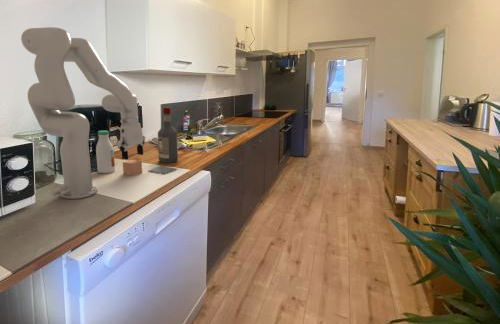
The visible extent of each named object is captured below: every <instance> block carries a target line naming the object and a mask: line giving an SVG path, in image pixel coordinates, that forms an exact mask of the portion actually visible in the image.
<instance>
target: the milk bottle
mask: <svg viewBox="0 0 500 324" xmlns="http://www.w3.org/2000/svg"><path fill="white" fill-rule="evenodd" d="M109 135H110V132H109V131H108V130H98V131H97V136H98V141H97V143H96V147H95V152H96V153H95V154H96V167H97V172H98V173H100V174H111V173H115V171H116V164H115V163H116V162H115V152H114V146H113V143H112V142H111V140H110V138H109Z"/></svg>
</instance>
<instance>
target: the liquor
mask: <svg viewBox="0 0 500 324" xmlns="http://www.w3.org/2000/svg"><path fill="white" fill-rule="evenodd" d="M162 109H163V111H162V112H163V125H162V126H161V128H160V129H159V130H158V132H157V145H158V147H157V148H158V149H157V151H158V161H159V162H161V163H162V164H172V163H176V162H178V161H179V150H178V148H179V147H178V146H179V145H178V144H179V143H178V132H177V130H176V129H175V127H173V126H172V123H171V107H169V106H168V107H163V108H162Z"/></svg>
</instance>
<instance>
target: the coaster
mask: <svg viewBox="0 0 500 324" xmlns="http://www.w3.org/2000/svg"><path fill="white" fill-rule="evenodd" d="M175 169H177V168H176V167H175V168H174V167H170V166H163V165H160V166H158V167H154V168H151V169H148V170H147V172H148V171H150V172H149V173H153V172H156V173H155V174H159V173H161V174H160V175H166V174H165V173H167V174H169V173H168V172H170V171H172V172H174V171H173V170H175ZM175 171H176V170H175ZM170 173H171V172H170Z"/></svg>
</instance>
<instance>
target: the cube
mask: <svg viewBox="0 0 500 324" xmlns="http://www.w3.org/2000/svg"><path fill="white" fill-rule="evenodd" d="M142 163H143V162H142V160H138V159H128V160H125V161H122V172H123V173H122V174H123V175H127V176H131V177H133V176H137V175H139V174H142V173H143V164H142Z"/></svg>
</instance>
